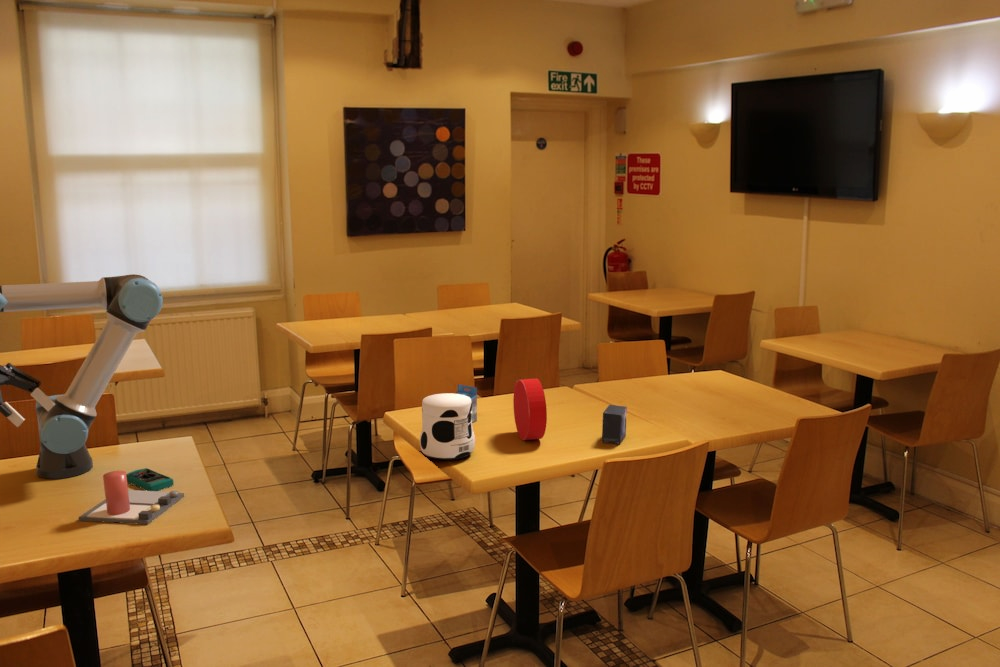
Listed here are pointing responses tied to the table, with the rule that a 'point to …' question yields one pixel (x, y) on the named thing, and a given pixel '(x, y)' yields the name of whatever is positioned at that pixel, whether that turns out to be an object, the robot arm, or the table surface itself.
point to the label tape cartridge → (473, 397)
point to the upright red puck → (530, 409)
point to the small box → (614, 424)
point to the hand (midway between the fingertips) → (37, 415)
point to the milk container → (447, 426)
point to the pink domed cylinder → (116, 492)
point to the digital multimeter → (149, 479)
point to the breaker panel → (136, 507)
